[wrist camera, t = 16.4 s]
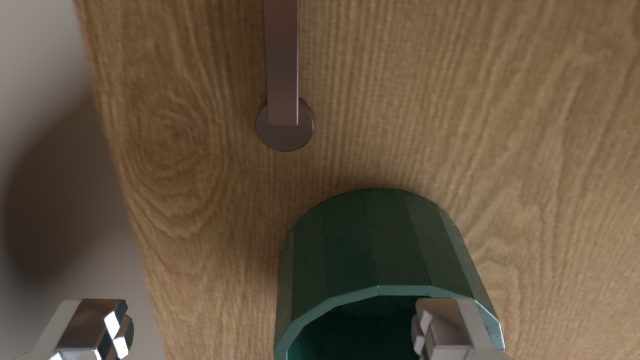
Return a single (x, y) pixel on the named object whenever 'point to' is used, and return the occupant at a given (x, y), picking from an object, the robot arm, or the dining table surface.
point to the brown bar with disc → (283, 80)
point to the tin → (370, 277)
